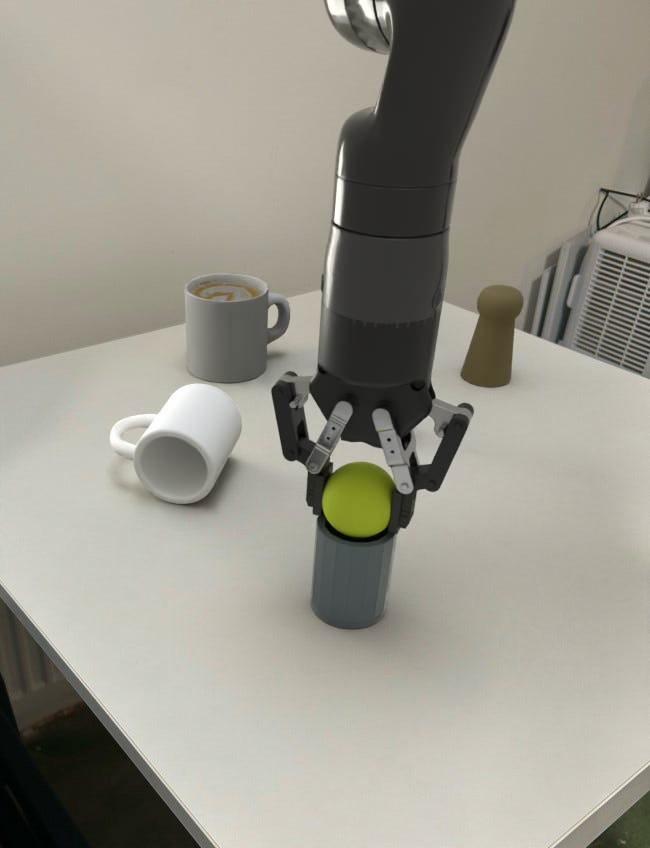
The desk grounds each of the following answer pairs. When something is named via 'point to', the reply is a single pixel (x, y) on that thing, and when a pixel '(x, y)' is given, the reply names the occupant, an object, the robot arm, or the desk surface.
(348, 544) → the cup
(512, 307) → the brown game pawn
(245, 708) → the desk surface
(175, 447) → the mug
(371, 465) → the ball
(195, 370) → the coffee mug
